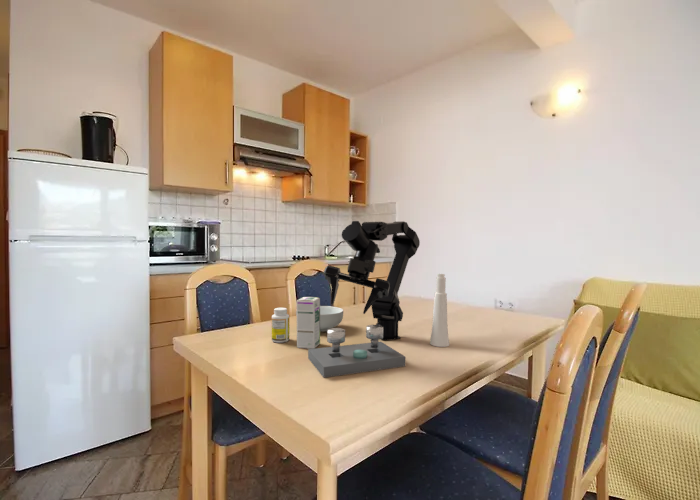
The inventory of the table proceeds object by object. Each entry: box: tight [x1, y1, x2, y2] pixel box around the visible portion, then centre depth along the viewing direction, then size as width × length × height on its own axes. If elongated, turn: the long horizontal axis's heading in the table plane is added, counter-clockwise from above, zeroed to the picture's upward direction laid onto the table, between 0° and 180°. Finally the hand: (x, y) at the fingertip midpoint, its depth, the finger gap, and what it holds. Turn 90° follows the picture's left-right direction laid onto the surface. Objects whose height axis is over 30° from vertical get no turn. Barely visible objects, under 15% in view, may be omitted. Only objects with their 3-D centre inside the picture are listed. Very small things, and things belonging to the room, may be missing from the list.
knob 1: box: [326, 327, 346, 353], centre depth 91 cm, size 5×5×6 cm
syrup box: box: [296, 296, 321, 350], centre depth 106 cm, size 6×6×14 cm
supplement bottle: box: [271, 307, 290, 344], centre depth 111 cm, size 6×6×10 cm
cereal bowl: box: [295, 305, 344, 333], centre depth 127 cm, size 17×17×7 cm
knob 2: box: [365, 324, 383, 348], centre depth 95 cm, size 5×5×6 cm
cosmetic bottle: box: [429, 273, 451, 348], centre depth 110 cm, size 6×6×22 cm
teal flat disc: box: [353, 350, 367, 359], centre depth 90 cm, size 4×4×1 cm
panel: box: [307, 341, 406, 378], centre depth 93 cm, size 22×14×2 cm, turn 112°
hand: (347, 308), depth 96 cm, fingers open, 9 cm apart
